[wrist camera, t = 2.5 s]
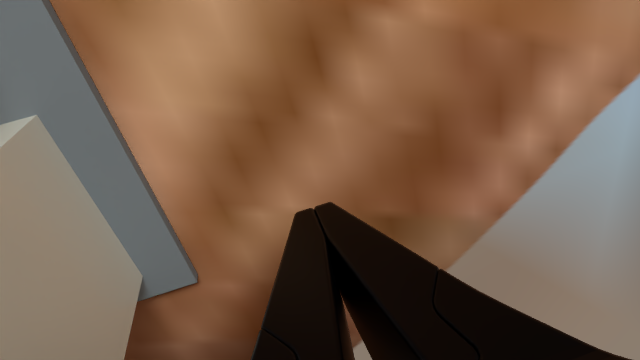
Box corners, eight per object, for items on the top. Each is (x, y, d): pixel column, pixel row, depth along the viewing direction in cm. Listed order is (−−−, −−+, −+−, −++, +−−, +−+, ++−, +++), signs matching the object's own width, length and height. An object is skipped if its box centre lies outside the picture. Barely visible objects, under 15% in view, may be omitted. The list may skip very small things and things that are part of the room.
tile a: (142, 276, 13) (83, 540, 7) (82, 295, 13) (-31, 583, 7) (36, 114, 10) (-228, 353, 4) (-47, 137, 10) (-452, 422, 4)
